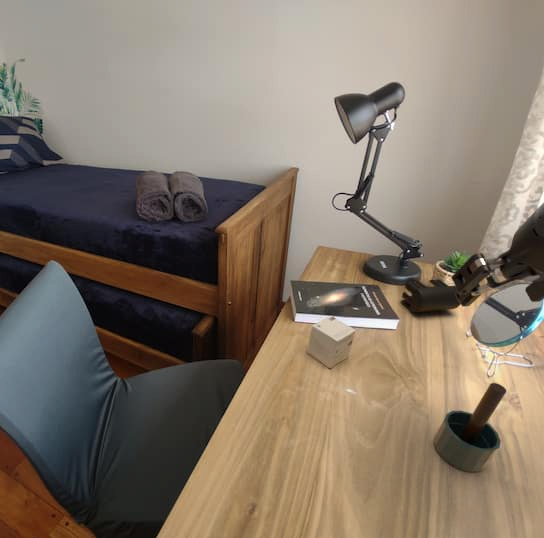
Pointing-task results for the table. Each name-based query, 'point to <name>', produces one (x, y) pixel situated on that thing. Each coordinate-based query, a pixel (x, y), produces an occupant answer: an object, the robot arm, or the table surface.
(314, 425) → the table surface
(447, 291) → the end cap
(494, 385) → the stick
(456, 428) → the green round cup
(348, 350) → the beige stone block
